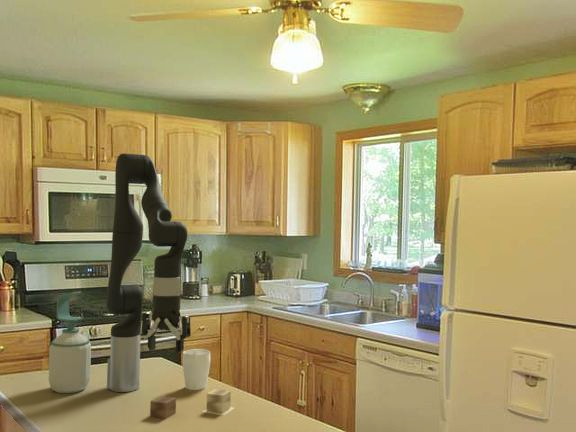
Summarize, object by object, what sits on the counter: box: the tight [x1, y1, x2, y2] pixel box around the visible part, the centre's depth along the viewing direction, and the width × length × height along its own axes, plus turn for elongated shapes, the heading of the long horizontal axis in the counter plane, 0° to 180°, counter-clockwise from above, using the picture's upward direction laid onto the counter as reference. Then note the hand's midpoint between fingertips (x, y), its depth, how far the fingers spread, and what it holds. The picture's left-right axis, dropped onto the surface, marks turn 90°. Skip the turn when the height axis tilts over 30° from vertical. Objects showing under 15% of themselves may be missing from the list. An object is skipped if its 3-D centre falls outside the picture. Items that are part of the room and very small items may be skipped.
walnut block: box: [149, 395, 177, 420], centre depth 160 cm, size 5×5×5 cm
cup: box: [181, 348, 212, 391], centre depth 187 cm, size 9×9×12 cm
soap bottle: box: [48, 290, 92, 394], centre depth 183 cm, size 12×12×31 cm
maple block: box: [206, 388, 232, 414], centre depth 165 cm, size 5×5×5 cm
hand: (165, 351), depth 160 cm, fingers open, 8 cm apart
